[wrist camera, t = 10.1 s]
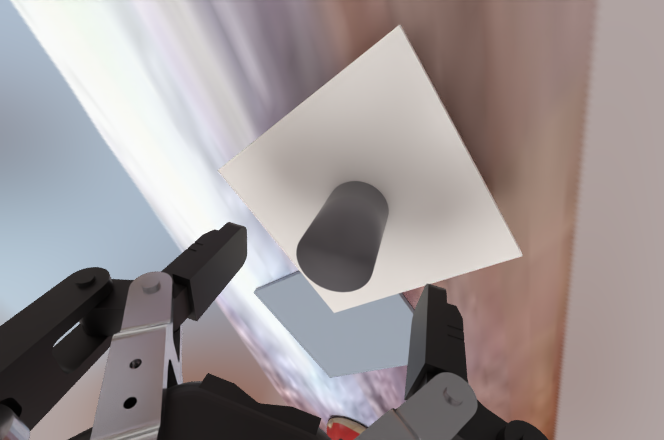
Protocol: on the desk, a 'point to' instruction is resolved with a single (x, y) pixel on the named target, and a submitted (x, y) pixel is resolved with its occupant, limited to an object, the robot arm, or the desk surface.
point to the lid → (372, 184)
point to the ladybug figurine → (343, 429)
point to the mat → (341, 327)
